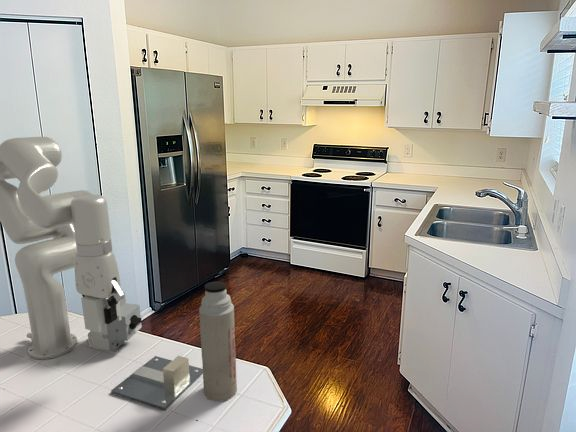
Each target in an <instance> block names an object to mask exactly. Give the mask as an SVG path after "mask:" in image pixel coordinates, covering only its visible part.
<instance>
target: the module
mask: <svg viewBox="0 0 576 432" xmlns="http://www.w3.org/2000/svg"><path fill="white" fill-rule="evenodd" d="M80 299H81V300H80V301H81V306H82V313H83V320H84V321H83V322H84V329H85V330H88V331H90V330H91V331H95V332H99V333H100V332H101V331H102V328H101V326H102V325H103V324H105V315H104V309H105V308H106V307H105V304H104V301H103V299H100V298H95V297H91V296H84V297H83V296H81V297H80ZM108 299H109V302H110V300H111V297H109V298H108ZM116 310H117V319H116V320H118V321H120V320H122V318H121V309H120V301H119V302H118V304H117V305H116Z"/></svg>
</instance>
